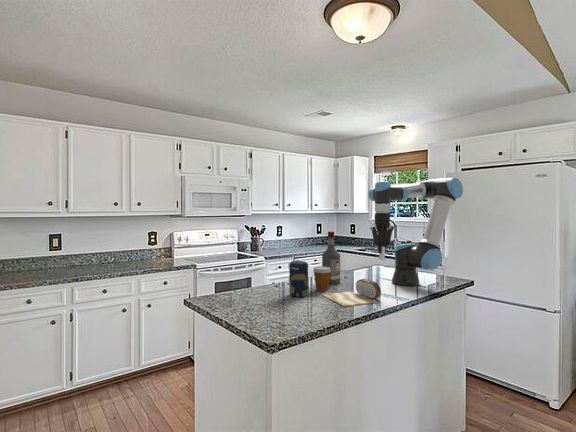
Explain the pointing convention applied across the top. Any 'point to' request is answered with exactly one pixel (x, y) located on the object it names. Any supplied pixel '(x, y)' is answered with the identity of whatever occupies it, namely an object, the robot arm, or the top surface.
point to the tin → (368, 288)
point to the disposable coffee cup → (321, 277)
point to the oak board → (348, 299)
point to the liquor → (332, 260)
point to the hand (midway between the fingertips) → (381, 259)
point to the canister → (298, 278)
